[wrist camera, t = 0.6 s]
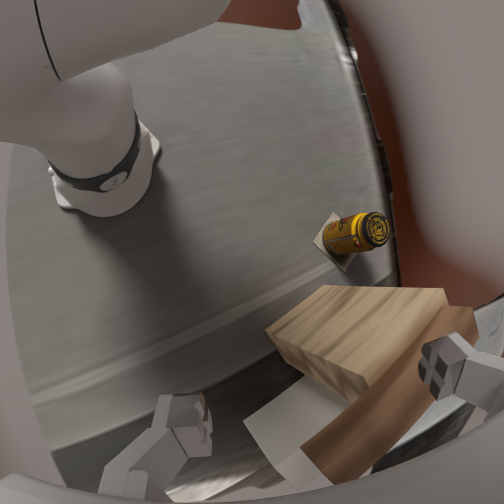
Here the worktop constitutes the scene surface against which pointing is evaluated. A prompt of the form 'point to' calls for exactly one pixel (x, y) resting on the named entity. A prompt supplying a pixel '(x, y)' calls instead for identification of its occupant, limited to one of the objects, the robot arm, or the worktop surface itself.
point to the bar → (384, 406)
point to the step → (295, 427)
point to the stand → (353, 333)
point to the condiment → (352, 236)
